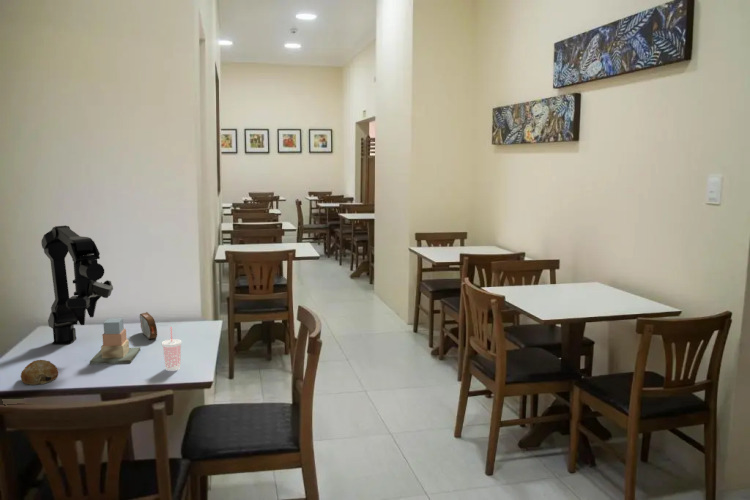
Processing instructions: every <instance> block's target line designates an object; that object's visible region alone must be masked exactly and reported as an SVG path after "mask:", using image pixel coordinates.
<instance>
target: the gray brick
mask: <svg viewBox="0 0 750 500" xmlns="http://www.w3.org/2000/svg"><path fill="white" fill-rule="evenodd" d="M124 329H125V327H124V318H123V317H122V318H121V317H120V318H106V320H105V321H104V322H103V334H120V333H121V332H122V331H123V330H124Z"/></svg>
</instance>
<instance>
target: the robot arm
mask: <svg viewBox="0 0 750 500" xmlns="http://www.w3.org/2000/svg"><path fill="white" fill-rule="evenodd" d="M41 247H42V249H43V253H44V254H45V256H46V257H48V259H49V260H50V268H51V277H52V283H53V284H52V286H53V291H54V293H53V294H54V301H53V303H52V304H51V307H50V309H51V310H50V311H51V312H50V314H49V316H48V319H47V324H48V327H50V328H51V329H52V334H53V342H52V343H51V345H66V344H67V345H68V344H69V345H71V344H72V343H73V342H74V341H76V340H77V332H76V328H75V327H74V326H75V325H78V323H79V324H80V326H85V323H86V313H87V314H88V315H89V318H95V312H96V307H97V304H98V301H99V300H100V299H101V298H105V299H108V298H109V297H110V296H111V294H112V291H113V290H114V286H113V284H112V281H111V280H108V279H106V280H105V281H104V282H102V281H101V282H98V281H99V280H100V279H102V278H103V276H104V274H105V268H104V266H103V265H102V264H101V263H98V260H100V258H101V257H100V253H101V252H100V251H99V248H98V246H97V244H96V243H95V240H93V239H92V238H91V237H89V236H82V235H81V236H80V234H78V233H76V232H75V231H73V230H72V229H71V228H70V226H69V225H57V226H56V225H55V226H53V227H52V228H51V230H50V231H48V232H46V233H45V234H44V235H43V237H42V239H41ZM68 253H69V255H70V257H71V258H72V262H73V276H74V279H73V280H72V284H74V285H75V286H74V289H75V291H74V292H73V295H72V296H71V297H70V293H69V286H68V285H69V282H68V276H67V267H66V257H67V255H68Z"/></svg>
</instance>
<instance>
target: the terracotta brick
mask: <svg viewBox="0 0 750 500" xmlns="http://www.w3.org/2000/svg"><path fill="white" fill-rule="evenodd" d="M101 337H102V345H103V346H122V345H123V344H124V342H125V341H126V340H128V339H127V329H126V328H124V330H123V331H122V332H121V333H120V334H104V333H103V334H102V336H101Z"/></svg>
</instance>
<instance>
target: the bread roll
mask: <svg viewBox="0 0 750 500" xmlns="http://www.w3.org/2000/svg"><path fill="white" fill-rule="evenodd" d="M58 377H59V369H58V368H57V366H56V365H55V364H54V363H52V362H51V361H49V360H46V359H36V360H34V361H32V362H30V363H29V364H27V365H26V366H25V367H24V368H23V370H22V371H21V373H20V378H21V382H22V383H24V385H31V386H34V385H35V386H37V385H44V384H48V383H51V382H52V381H55V380H57V379H58Z"/></svg>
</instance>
